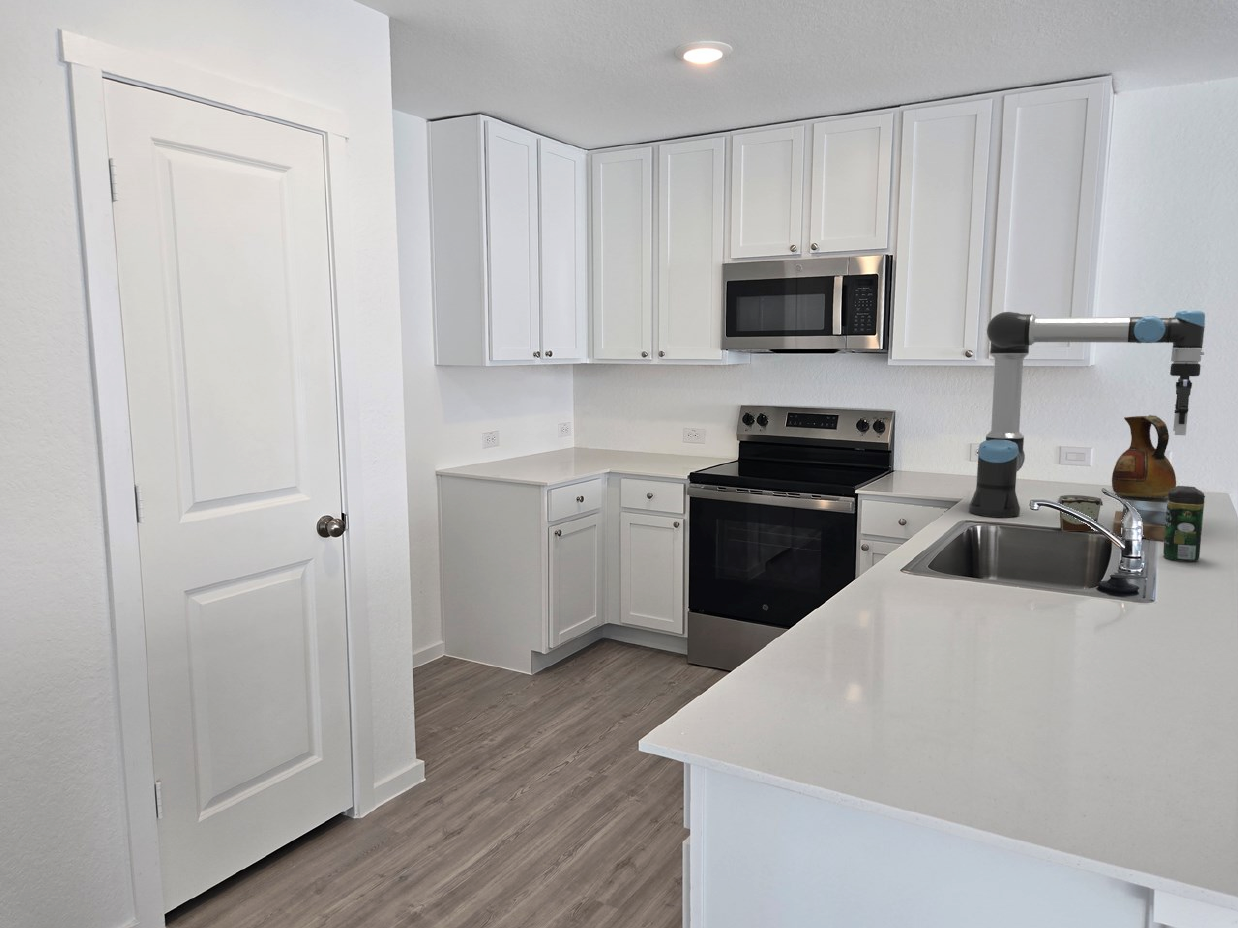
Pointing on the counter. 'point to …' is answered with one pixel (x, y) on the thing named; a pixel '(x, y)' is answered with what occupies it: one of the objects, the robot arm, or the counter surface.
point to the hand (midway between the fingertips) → (1179, 433)
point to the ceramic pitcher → (1144, 461)
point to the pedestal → (1145, 518)
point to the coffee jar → (1183, 523)
